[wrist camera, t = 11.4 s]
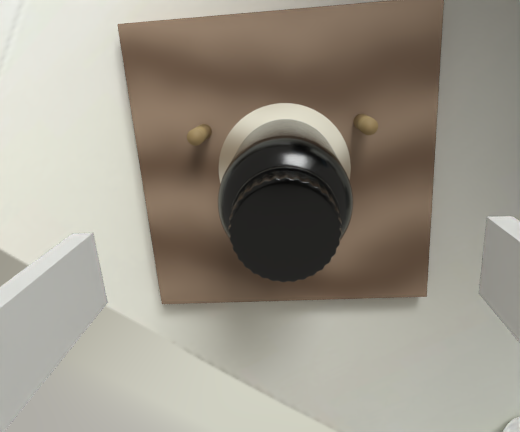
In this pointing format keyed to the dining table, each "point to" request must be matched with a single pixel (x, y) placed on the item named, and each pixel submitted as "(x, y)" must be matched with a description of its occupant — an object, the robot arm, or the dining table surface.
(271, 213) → the supplement bottle
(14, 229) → the dining table surface
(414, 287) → the pin board
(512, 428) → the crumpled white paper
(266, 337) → the dining table surface
